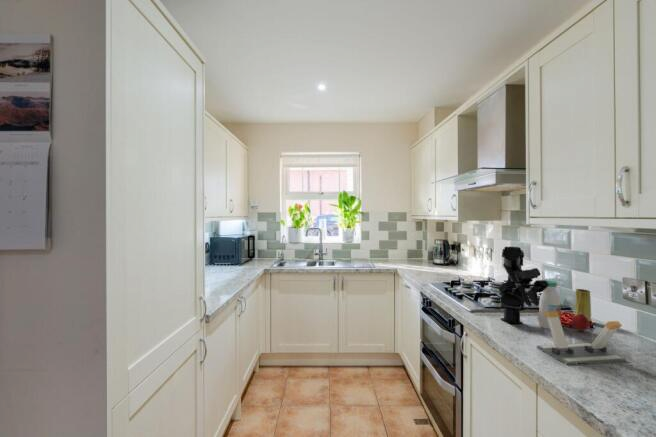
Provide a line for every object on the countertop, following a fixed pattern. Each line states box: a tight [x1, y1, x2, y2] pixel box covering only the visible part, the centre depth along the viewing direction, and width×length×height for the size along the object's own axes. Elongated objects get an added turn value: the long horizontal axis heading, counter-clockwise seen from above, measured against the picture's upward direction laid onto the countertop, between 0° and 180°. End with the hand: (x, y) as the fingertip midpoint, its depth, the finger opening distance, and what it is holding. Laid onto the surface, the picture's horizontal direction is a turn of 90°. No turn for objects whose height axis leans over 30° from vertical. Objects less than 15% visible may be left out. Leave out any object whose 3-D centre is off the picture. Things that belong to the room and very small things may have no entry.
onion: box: [571, 313, 590, 332], centre depth 134 cm, size 6×6×8 cm
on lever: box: [590, 320, 622, 350], centre depth 110 cm, size 2×4×14 cm
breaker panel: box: [536, 342, 627, 365], centre depth 113 cm, size 13×22×2 cm, turn 96°
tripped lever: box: [545, 311, 568, 352], centre depth 114 cm, size 2×4×14 cm, turn 96°
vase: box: [573, 288, 592, 322], centre depth 146 cm, size 6×6×14 cm
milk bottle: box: [538, 280, 562, 330], centre depth 138 cm, size 8×8×20 cm
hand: (534, 305), depth 125 cm, fingers open, 3 cm apart
